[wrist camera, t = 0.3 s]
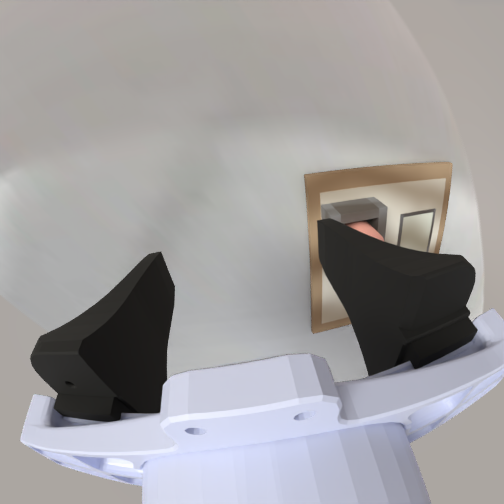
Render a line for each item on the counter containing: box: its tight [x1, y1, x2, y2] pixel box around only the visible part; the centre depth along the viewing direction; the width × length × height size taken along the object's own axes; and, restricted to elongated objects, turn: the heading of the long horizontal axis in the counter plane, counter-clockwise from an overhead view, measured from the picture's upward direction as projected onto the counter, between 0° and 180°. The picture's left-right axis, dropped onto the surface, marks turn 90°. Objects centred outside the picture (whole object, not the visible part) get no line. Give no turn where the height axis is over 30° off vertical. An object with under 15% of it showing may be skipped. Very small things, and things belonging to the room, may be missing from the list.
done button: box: [345, 220, 384, 241], centre depth 20 cm, size 3×3×3 cm
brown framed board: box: [304, 162, 452, 334], centre depth 24 cm, size 18×16×3 cm
